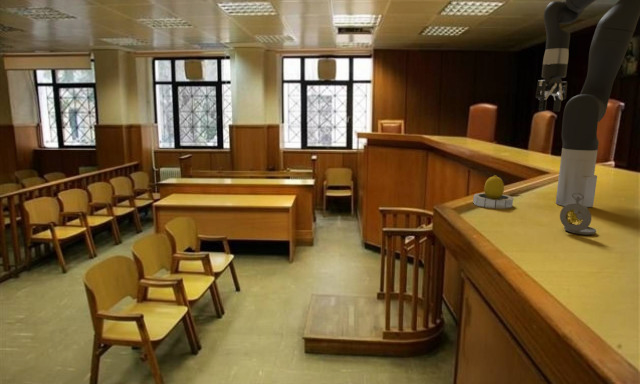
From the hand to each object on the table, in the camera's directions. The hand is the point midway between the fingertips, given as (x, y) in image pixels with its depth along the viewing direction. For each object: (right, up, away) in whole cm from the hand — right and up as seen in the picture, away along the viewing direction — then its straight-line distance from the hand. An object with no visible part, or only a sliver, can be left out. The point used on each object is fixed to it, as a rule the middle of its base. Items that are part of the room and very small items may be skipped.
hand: (549, 111), depth 153 cm
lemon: (-28, -31, -20) cm, 46 cm away
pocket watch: (-19, -38, -49) cm, 65 cm away
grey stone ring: (-28, -32, -20) cm, 47 cm away
